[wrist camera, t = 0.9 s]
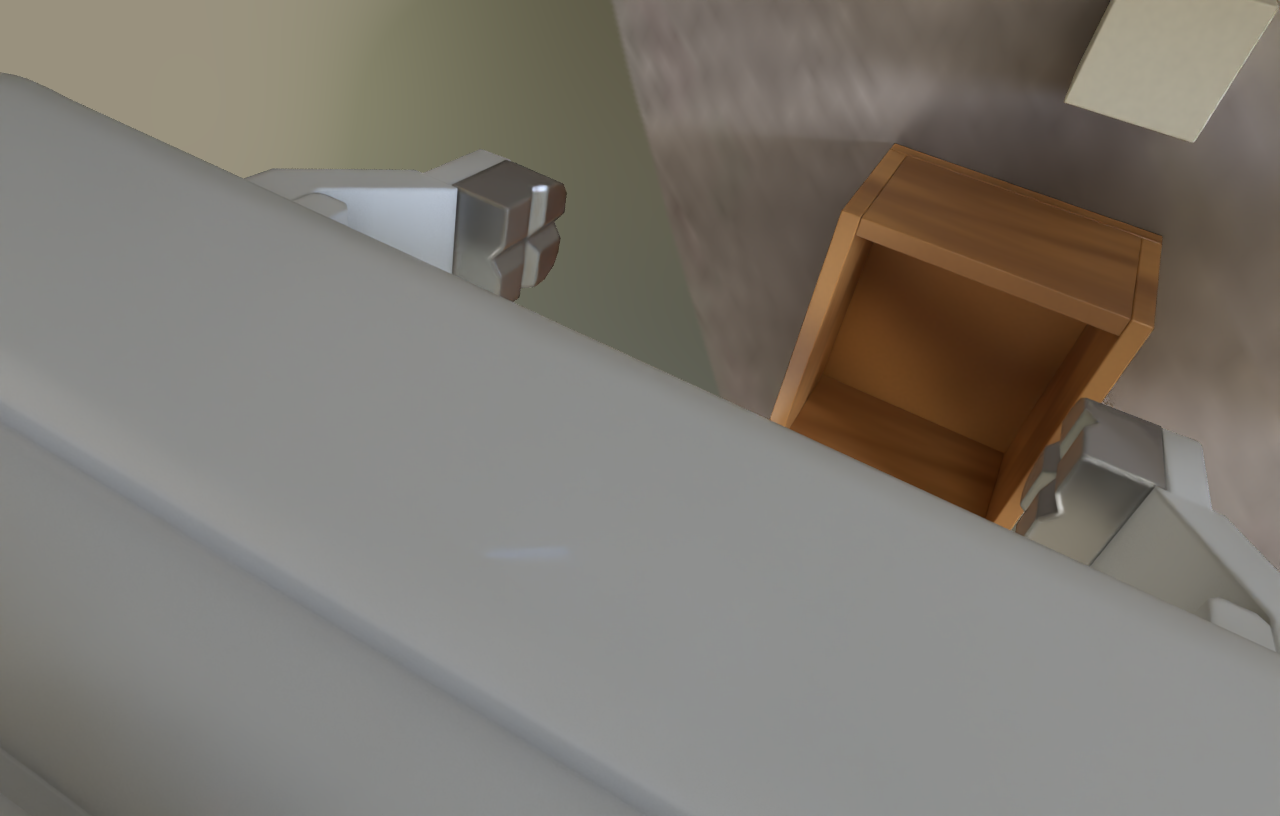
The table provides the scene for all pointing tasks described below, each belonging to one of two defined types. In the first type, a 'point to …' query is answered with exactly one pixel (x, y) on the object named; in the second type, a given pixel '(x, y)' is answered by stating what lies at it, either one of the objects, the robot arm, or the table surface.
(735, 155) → the table surface
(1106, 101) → the block
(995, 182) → the chest
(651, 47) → the table surface
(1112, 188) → the table surface
